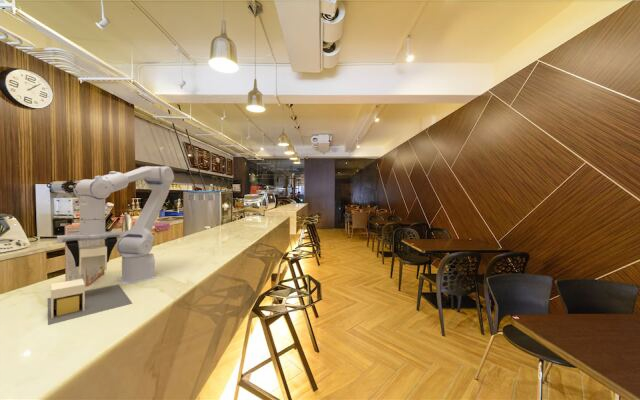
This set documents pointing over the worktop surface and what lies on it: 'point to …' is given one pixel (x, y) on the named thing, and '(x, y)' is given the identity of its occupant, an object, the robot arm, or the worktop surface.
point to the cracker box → (70, 267)
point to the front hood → (67, 292)
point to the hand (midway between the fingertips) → (92, 263)
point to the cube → (67, 304)
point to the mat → (94, 303)
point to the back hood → (92, 257)
